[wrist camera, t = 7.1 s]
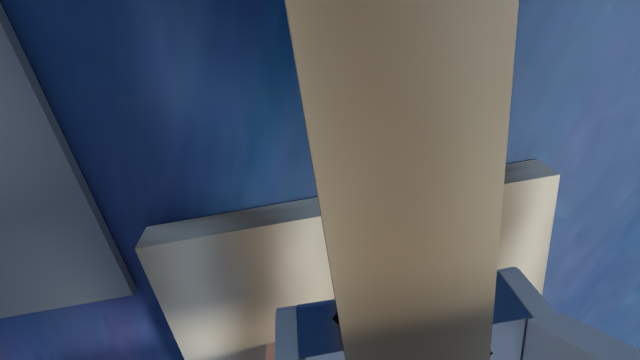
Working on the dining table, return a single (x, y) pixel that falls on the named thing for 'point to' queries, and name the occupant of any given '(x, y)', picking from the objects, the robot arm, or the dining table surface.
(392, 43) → the turner
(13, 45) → the mat
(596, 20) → the dining table surface
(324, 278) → the board
